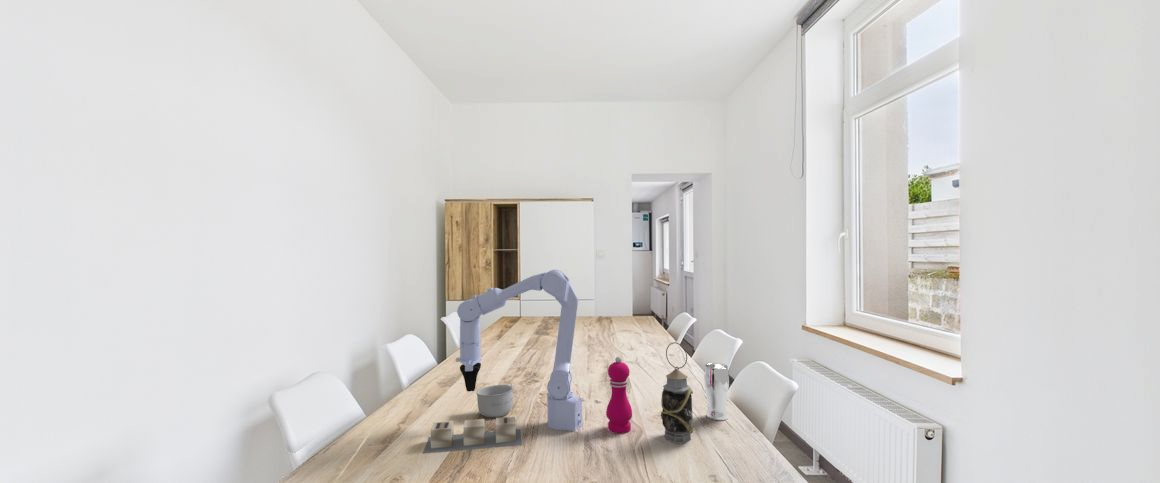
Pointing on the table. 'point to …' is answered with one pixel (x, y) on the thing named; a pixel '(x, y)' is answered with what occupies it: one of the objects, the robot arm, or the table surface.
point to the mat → (459, 445)
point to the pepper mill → (619, 398)
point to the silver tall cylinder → (716, 390)
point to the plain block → (474, 432)
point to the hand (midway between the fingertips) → (470, 390)
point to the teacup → (495, 400)
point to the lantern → (677, 406)
